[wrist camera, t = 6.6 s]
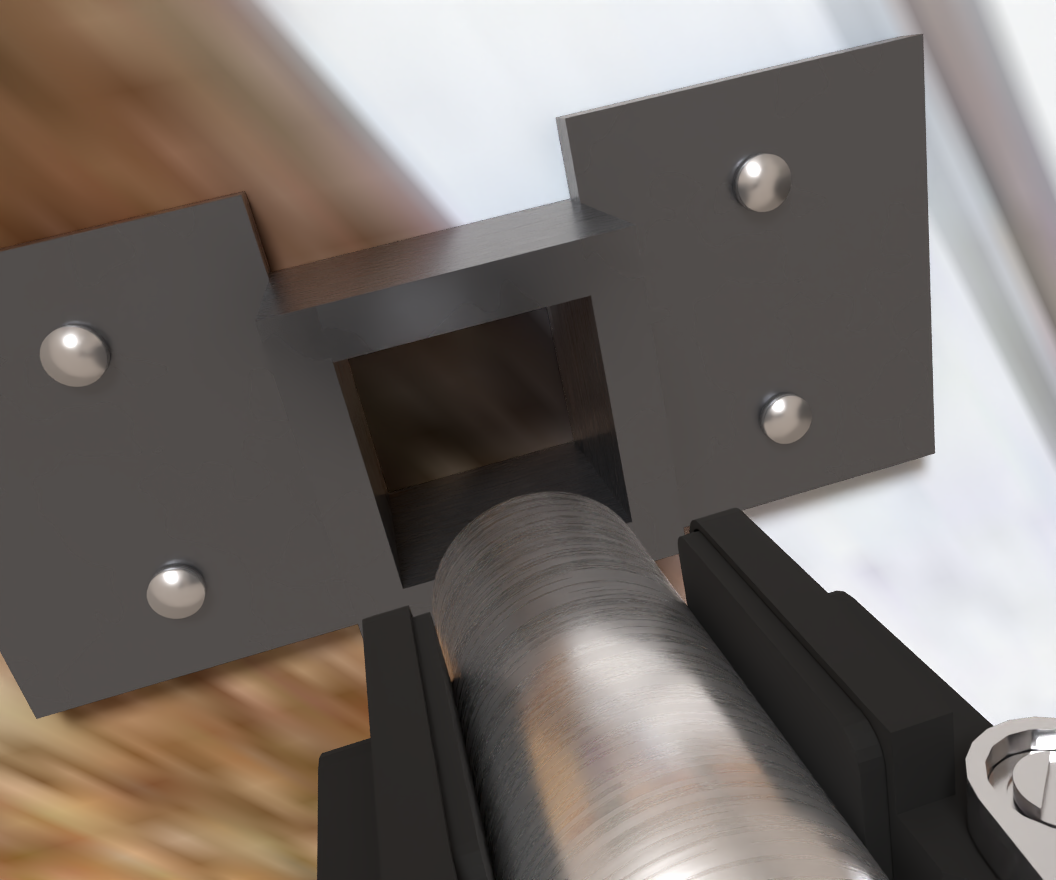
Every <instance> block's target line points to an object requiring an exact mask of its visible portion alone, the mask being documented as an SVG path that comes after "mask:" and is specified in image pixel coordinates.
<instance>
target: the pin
mask: <svg viewBox="0 0 1056 880" xmlns="http://www.w3.org/2000/svg"><path fill="white" fill-rule="evenodd" d="M432 608H433V616H434V620H435V625H436V630H437V634H438V639H439V642H440V646H441V649H442V653H443V656H444V659H445V663H446V666H447V669H448V673H449V676H450V679H451V683H452V688H453V692H454V696H455V701H456V705H457V710H458V714H459V719H460V723H461V728H462V732H463V737H464V741H465V746H466V750H467V755H468V759H469V764H470V768H471V773H472V777H473V781H474V786H475V790H476V795H477V799H478V804H479V808H480V813H481V817H482V822H483V826H484V831H485V835H486V840H487V844H488V849H489V853H490V857H491V862H492V866H493V871H494V875H495V880H889V879H888V877H887V876H886V875H885V873H884V872H883V871H882V869H881V868H880V866H879V865H878V864H877V862H876V861H875V860H874V858H873V857H872V856H871V854H870V853H869V852H868V850H867V849H866V847H865V846H864V845H863V843H862V842H861V841H860V839H859V838H858V837H857V835H856V834H855V833H854V831H853V830H852V829H851V827H850V826H849V824H848V823H847V822H846V820H845V819H844V818H843V816H842V815H841V814H840V812H839V811H838V810H837V808H836V807H835V805H834V804H833V803H832V801H831V800H830V799H829V797H828V796H827V795H826V793H825V792H824V791H823V789H822V788H821V787H820V785H819V784H818V782H817V781H816V780H815V778H814V777H813V776H812V774H811V773H810V772H809V770H808V769H807V768H806V766H805V765H804V763H803V762H802V761H801V759H800V758H799V757H798V755H797V754H796V753H795V751H794V750H793V749H792V747H791V746H790V745H789V743H788V742H787V740H786V739H785V738H784V736H783V735H782V734H781V732H780V731H779V730H778V728H777V727H776V726H775V724H774V723H773V721H772V720H771V719H770V717H769V716H768V715H767V713H766V712H765V711H764V709H763V708H762V707H761V705H760V704H759V703H758V701H757V700H756V698H755V697H754V696H753V694H752V693H751V692H750V690H749V689H748V688H747V686H746V685H745V684H744V682H743V681H742V679H741V678H740V677H739V675H738V674H737V673H736V671H735V670H734V669H733V667H732V666H731V665H730V663H729V662H728V661H727V659H726V658H725V656H724V655H723V654H722V652H721V651H720V650H719V648H718V647H717V646H716V644H715V643H714V642H713V640H712V639H711V637H710V636H709V635H708V633H707V632H706V631H705V629H704V628H703V627H702V625H701V624H700V623H699V621H698V620H697V619H696V617H695V616H694V614H693V613H692V612H691V610H690V609H689V608H688V606H687V605H686V604H685V602H684V601H683V600H682V598H681V597H680V595H679V594H678V593H677V591H676V590H675V589H674V587H673V586H672V585H671V583H670V582H669V581H668V579H667V578H666V577H665V575H664V574H663V572H662V571H661V570H660V568H659V567H658V566H657V564H656V563H655V562H654V560H653V559H652V558H651V556H650V555H649V553H648V552H647V551H646V549H645V548H644V547H643V545H642V544H641V543H640V541H639V540H638V539H637V537H636V536H635V535H634V533H633V532H632V530H631V529H630V528H629V527H628V525H627V524H626V523H625V522H624V521H623V520H622V518H620V517H619V516H618V515H617V514H616V513H615V512H613V511H612V510H611V509H609V508H608V507H606V506H604V505H603V504H601V503H599V502H597V501H595V500H593V499H590V498H588V497H584V496H581V495H577V494H573V493H566V492H548V491H547V492H537V493H530V494H526V495H521V496H517V497H515V498H512V499H509V500H506V501H504V502H502V503H499V504H497V505H495V506H493V507H491V508H490V509H488V510H487V511H485V512H483V513H482V514H480V515H479V516H477V517H476V518H475V519H474V520H473V521H471V522H470V523H469V524H468V525H467V526H466V527H465V528H464V529H463V530H462V531H461V532H460V533H459V534H458V535H457V536H456V538H455V539H454V540H453V542H452V543H451V544H450V546H449V547H448V549H447V551H446V552H445V554H444V556H443V558H442V560H441V562H440V565H439V567H438V570H437V572H436V576H435V580H434V585H433V593H432Z"/></svg>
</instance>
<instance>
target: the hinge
mask: <svg viewBox="0 0 1056 880" xmlns="http://www.w3.org/2000/svg"><path fill="white" fill-rule="evenodd" d="M556 122H557V127H558V133H559V138H560V144H561V149H562V155H563V160H564V165H565V171H566V176H567V182H568V187H569V193H570V198H571V199H567V200H563V201H559V202H555V203H551V204H547V205H543V206H539V207H535V208H531V209H527V210H523V211H519V212H514V213H510V214H506V215H502V216H498V217H494V218H490V219H486V220H482V221H478V222H474V223H470V224H466V225H462V226H458V227H454V228H450V229H446V230H442V231H438V232H433V233H429V234H425V235H421V236H417V237H413V238H409V239H405V240H401V241H397V242H393V243H389V244H385V245H381V246H377V247H373V248H369V249H365V250H361V251H357V252H353V253H348V254H344V255H340V256H336V257H332V258H328V259H324V260H320V261H316V262H312V263H308V264H304V265H300V266H296V267H292V268H288V269H284V270H280V271H276V272H272V273H271V270H270V267H269V264H268V261H267V258H266V255H265V252H264V249H263V246H262V243H261V240H260V236H259V233H258V230H257V227H256V224H255V221H254V218H253V215H252V212H251V209H250V206H249V203H248V200H247V196H246V193H245V191H242V192H238V193H234V194H230V195H225V196H221V197H217V198H213V199H208V200H204V201H200V202H196V203H192V204H187V205H183V206H179V207H175V208H170V209H166V210H162V211H158V212H153V213H149V214H145V215H141V216H136V217H132V218H128V219H124V220H119V221H115V222H111V223H107V224H102V225H98V226H94V227H90V228H85V229H81V230H77V231H73V232H68V233H64V234H60V235H56V236H52V237H47V238H43V239H39V240H35V241H30V242H26V243H22V244H18V245H13V246H9V247H5V248H1V249H0V652H1V654H2V656H3V658H4V659H5V661H6V663H7V665H8V667H9V669H10V671H11V672H12V674H13V676H14V678H15V680H16V682H17V684H18V685H19V687H20V689H21V691H22V693H23V695H24V697H25V698H26V700H27V702H28V704H29V706H30V708H31V710H32V711H33V713H34V715H35V717H36V719H38V718H41V717H44V716H48V715H51V714H55V713H58V712H61V711H65V710H68V709H72V708H75V707H78V706H82V705H85V704H88V703H92V702H95V701H99V700H102V699H105V698H109V697H112V696H116V695H119V694H122V693H126V692H129V691H132V690H136V689H139V688H143V687H146V686H149V685H153V684H156V683H159V682H163V681H166V680H170V679H173V678H176V677H180V676H183V675H187V674H190V673H193V672H197V671H200V670H203V669H207V668H210V667H214V666H217V665H220V664H224V663H227V662H231V661H234V660H237V659H241V658H244V657H247V656H251V655H254V654H258V653H261V652H264V651H268V650H271V649H274V648H278V647H281V646H285V645H288V644H291V643H295V642H298V641H302V640H305V639H308V638H312V637H315V636H318V635H322V634H325V633H329V632H332V631H335V630H339V629H342V628H346V627H349V626H352V625H356V624H358V626H359V629H360V632H361V634H362V637H363V628H362V620H363V619H364V618H367V617H371V616H374V615H377V614H381V613H384V612H387V611H391V610H394V609H397V608H401V607H404V606H407V605H409V607H410V609H411V612H412V615H413V617H414V616H418V615H421V614H424V613H428V612H430V613H431V616H432V619H433V622H434V626H436V625H435V620H434V616H433V608H432V593H433V585H434V580H435V576H436V572H437V570H438V567H439V565H440V562H441V560H442V558H443V556H444V554H445V552H446V551H447V549H448V547H449V546H450V544H451V543H452V542H453V540H454V539H455V538H456V536H457V535H458V534H459V533H460V532H461V531H462V530H463V529H464V528H465V527H466V526H467V525H468V524H469V523H470V522H471V521H473V520H474V519H475V518H476V517H477V516H479V515H480V514H482V513H483V512H485V511H487V510H488V509H490V508H491V507H493V506H495V505H497V504H499V503H502V502H504V501H506V500H509V499H512V498H515V497H517V496H521V495H526V494H530V493H537V492H547V491H548V492H566V493H573V494H577V495H581V496H584V497H588V498H590V499H593V500H595V501H597V502H599V503H601V504H603V505H604V506H606V507H608V508H609V509H611V510H612V511H613V512H615V513H616V514H617V515H618V516H619V517H620V518H622V520H623V521H624V522H625V523H626V524H627V525H628V527H629V528H630V529H631V530H632V532H633V533H634V535H635V536H636V537H637V539H638V540H639V541H640V543H641V544H642V545H643V547H644V548H645V549H646V551H647V552H648V553H649V555H650V556H651V558H652V559H653V560H654V561H656V560H659V559H663V558H666V557H669V556H673V555H676V554H679V551H678V538H679V537H680V536H683V535H685V534H684V527H687V526H690V523H691V521H692V520H695V519H698V518H701V517H705V516H708V515H711V514H715V513H718V512H721V511H725V510H728V509H731V508H738V509H740V510H745V509H748V508H751V507H755V506H758V505H762V504H765V503H768V502H772V501H775V500H779V499H782V498H785V497H789V496H792V495H795V494H799V493H802V492H806V491H809V490H812V489H816V488H819V487H822V486H826V485H829V484H833V483H836V482H839V481H843V480H846V479H850V478H853V477H856V476H860V475H863V474H866V473H870V472H873V471H877V470H880V469H883V468H887V467H890V466H894V465H897V464H900V463H904V462H907V461H910V460H914V459H917V458H921V457H924V456H927V455H931V454H934V453H935V438H934V403H933V368H932V333H931V297H930V262H929V227H928V191H927V156H926V121H925V86H924V50H923V34H917V35H908V36H900V37H896V38H892V39H887V40H883V41H879V42H875V43H870V44H866V45H862V46H858V47H853V48H849V49H845V50H841V51H836V52H832V53H828V54H824V55H819V56H815V57H811V58H807V59H802V60H798V61H794V62H790V63H786V64H781V65H777V66H773V67H769V68H764V69H760V70H756V71H752V72H747V73H743V74H739V75H735V76H730V77H726V78H722V79H718V80H713V81H709V82H705V83H701V84H696V85H692V86H688V87H684V88H679V89H675V90H671V91H667V92H662V93H658V94H654V95H650V96H645V97H641V98H637V99H633V100H629V101H624V102H620V103H616V104H612V105H607V106H603V107H599V108H595V109H590V110H586V111H582V112H578V113H573V114H569V115H565V116H561V117H556ZM544 307H547V311H548V316H549V321H550V326H551V331H552V336H553V341H554V345H555V350H556V355H557V360H558V365H559V370H560V375H561V380H562V385H563V389H564V394H565V399H566V404H567V409H568V414H569V419H570V424H571V429H572V434H573V438H574V441H573V442H569V443H566V444H562V445H559V446H555V447H551V448H548V449H544V450H541V451H537V452H534V453H530V454H526V455H523V456H519V457H516V458H512V459H509V460H505V461H501V462H498V463H494V464H491V465H487V466H484V467H480V468H476V469H473V470H469V471H466V472H462V473H459V474H455V475H451V476H448V477H444V478H441V479H437V480H433V481H430V482H426V483H423V484H419V485H416V486H412V487H408V488H405V489H401V490H398V491H394V492H391V493H388V490H387V487H386V484H385V480H384V477H383V474H382V471H381V467H380V464H379V461H378V457H377V454H376V451H375V447H374V444H373V441H372V437H371V434H370V431H369V428H368V424H367V421H366V418H365V414H364V411H363V408H362V404H361V401H360V398H359V394H358V391H357V388H356V385H355V381H354V378H353V375H352V371H351V368H350V365H349V361H348V359H349V358H353V357H357V356H360V355H364V354H368V353H372V352H376V351H380V350H383V349H387V348H391V347H395V346H399V345H403V344H406V343H410V342H414V341H418V340H422V339H426V338H429V337H433V336H437V335H441V334H445V333H449V332H452V331H456V330H460V329H464V328H468V327H472V326H475V325H479V324H483V323H487V322H491V321H495V320H498V319H502V318H506V317H510V316H514V315H518V314H521V313H525V312H529V311H533V310H537V309H541V308H544Z"/></svg>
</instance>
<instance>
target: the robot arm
mask: <svg viewBox="0 0 1056 880" xmlns="http://www.w3.org/2000/svg"><path fill="white" fill-rule="evenodd" d="M689 531H690V534H687V535H683V536H680V537H679V538H678V551H679V557H680V563H681V569H682V575H683V581H684V587H685V593H686V599H687V605H688V608H689V609H690V610H691V612H692V613H693V614H694V616H695V617H696V619H697V620H698V621H699V623H700V624H701V625H702V627H703V628H704V629H705V631H706V632H707V633H708V635H709V636H710V637H711V639H712V640H713V642H714V643H715V644H716V646H717V647H718V648H719V650H720V651H721V652H722V654H723V655H724V656H725V658H726V659H727V661H728V662H729V663H730V665H731V666H732V667H733V669H734V670H735V671H736V673H737V674H738V675H739V677H740V678H741V679H742V681H743V682H744V684H745V685H746V686H747V688H748V689H749V690H750V692H751V693H752V694H753V696H754V697H755V698H756V700H757V701H758V703H759V704H760V705H761V707H762V708H763V709H764V711H765V712H766V713H767V715H768V716H769V717H770V719H771V720H772V721H773V723H774V724H775V726H776V727H777V728H778V730H779V731H780V732H781V734H782V735H783V736H784V738H785V739H786V740H787V742H788V743H789V745H790V746H791V747H792V749H793V750H794V751H795V753H796V754H797V755H798V757H799V758H800V759H801V761H802V762H803V763H804V765H805V766H806V768H807V769H808V770H809V772H810V773H811V774H812V776H813V777H814V778H815V780H816V781H817V782H818V784H819V785H820V787H821V788H822V789H823V791H824V792H825V793H826V795H827V796H828V797H829V799H830V800H831V801H832V803H833V804H834V805H835V807H836V808H837V810H838V811H839V812H840V814H841V815H842V816H843V818H844V819H845V820H846V822H847V823H848V824H849V826H850V827H851V829H852V830H853V831H854V833H855V834H856V835H857V837H858V838H859V839H860V841H861V842H862V843H863V845H864V846H865V847H866V849H867V850H868V852H869V853H870V854H871V856H872V857H873V858H874V860H875V861H876V862H877V864H878V865H879V866H880V868H881V869H882V871H883V872H884V873H885V875H886V876H887V877H888V879H889V880H1056V718H1048V717H1028V718H1021V719H1013V720H1008V721H1005V722H1003V723H1000V724H998V725H995V726H993V725H992V724H991V723H989V722H988V721H987V720H986V719H985V718H984V717H983V716H982V715H981V714H980V713H979V712H977V711H976V710H975V709H974V708H973V707H972V706H971V705H970V704H969V703H968V702H967V701H965V700H964V699H963V698H962V697H961V696H960V695H959V694H958V693H957V692H956V691H955V690H953V689H952V688H951V687H950V686H949V685H948V684H947V683H946V682H945V681H944V680H943V679H941V678H940V677H939V676H938V675H937V674H936V673H935V672H934V671H933V670H932V669H930V668H929V667H928V666H927V665H926V664H925V663H924V662H923V661H922V660H921V659H920V658H918V657H917V656H916V655H915V654H914V653H913V652H912V651H911V650H910V649H909V648H908V647H906V646H905V645H904V644H903V643H902V642H901V641H900V640H899V639H898V638H897V637H896V636H894V635H893V634H892V633H891V632H890V631H889V630H888V629H887V628H886V627H885V626H884V625H882V624H881V623H880V622H879V621H878V620H877V619H876V618H875V617H874V616H873V615H872V614H870V613H869V612H868V611H867V610H866V609H865V608H864V607H863V606H862V605H861V604H859V603H858V602H857V601H856V600H855V599H854V598H853V597H851V596H850V595H848V594H847V593H845V592H843V591H834V592H831V593H827V592H826V591H825V590H824V589H823V588H822V587H821V586H820V585H819V584H818V583H817V582H816V581H815V580H814V579H813V578H812V577H811V576H810V575H808V574H807V573H806V572H805V571H804V570H803V569H802V568H801V567H800V566H799V565H798V564H797V563H796V562H795V561H794V560H793V559H792V558H791V557H790V556H789V555H787V554H786V553H785V552H784V551H783V550H782V549H781V548H780V547H779V546H778V545H777V544H776V543H775V542H774V541H773V540H772V539H771V538H770V537H769V536H767V535H766V534H765V533H764V532H763V531H762V530H761V529H760V528H759V527H758V526H757V525H756V524H755V523H754V522H753V521H752V520H751V519H750V518H749V517H748V516H746V515H745V514H744V513H743V512H742V511H741V510H740V509H738V508H731V509H728V510H725V511H721V512H718V513H715V514H711V515H708V516H705V517H701V518H698V519H695V520H692V521H691V523H690V530H689ZM362 628H363V642H364V655H365V669H366V682H367V696H368V709H369V722H370V736H371V738H369V739H366V740H363V741H360V742H356V743H353V744H350V745H347V746H344V747H341V748H337V749H334V750H331V751H328V752H325V753H322V754H321V756H320V758H319V766H318V855H317V880H495V875H494V871H493V866H492V862H491V857H490V853H489V849H488V844H487V840H486V835H485V831H484V826H483V822H482V817H481V813H480V808H479V804H478V799H477V795H476V790H475V786H474V781H473V777H472V773H471V768H470V764H469V759H468V755H467V750H466V746H465V741H464V737H463V732H462V728H461V723H460V719H459V714H458V710H457V705H456V701H455V696H454V692H453V688H452V683H451V679H450V676H449V673H448V669H447V666H446V663H445V659H444V656H443V653H442V649H441V646H440V642H439V639H438V636H437V632H436V629H435V626H434V622H433V619H432V616H431V613H430V612H428V613H424V614H421V615H418V616H414V617H413V615H412V612H411V609H410V607H409V605H407V606H404V607H401V608H397V609H394V610H391V611H387V612H384V613H381V614H377V615H374V616H371V617H367V618H364V619H363V620H362Z"/></svg>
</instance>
